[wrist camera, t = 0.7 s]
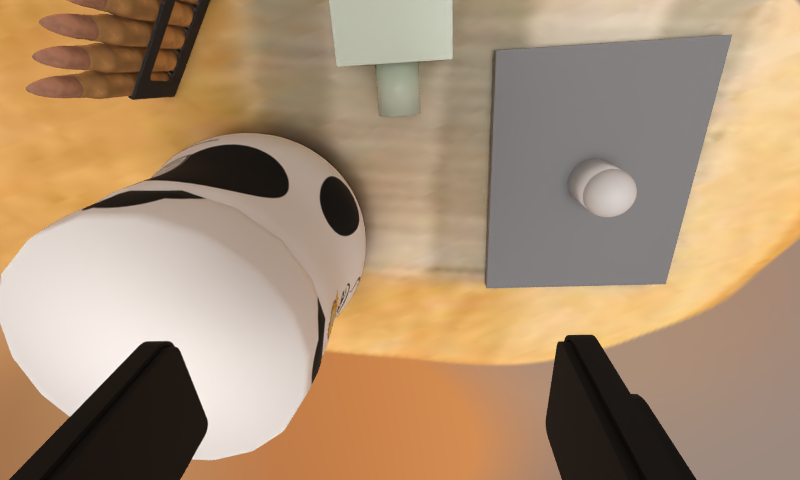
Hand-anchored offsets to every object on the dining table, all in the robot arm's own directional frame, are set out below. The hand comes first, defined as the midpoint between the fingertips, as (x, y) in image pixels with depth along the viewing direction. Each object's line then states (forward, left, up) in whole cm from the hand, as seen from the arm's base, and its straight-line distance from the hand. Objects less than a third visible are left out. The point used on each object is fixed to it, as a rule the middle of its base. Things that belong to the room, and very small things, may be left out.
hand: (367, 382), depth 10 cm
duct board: (+2, +15, -25) cm, 29 cm away
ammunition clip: (-11, -16, -25) cm, 32 cm away
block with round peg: (-9, 0, -25) cm, 26 cm away
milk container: (+5, -12, -25) cm, 28 cm away
